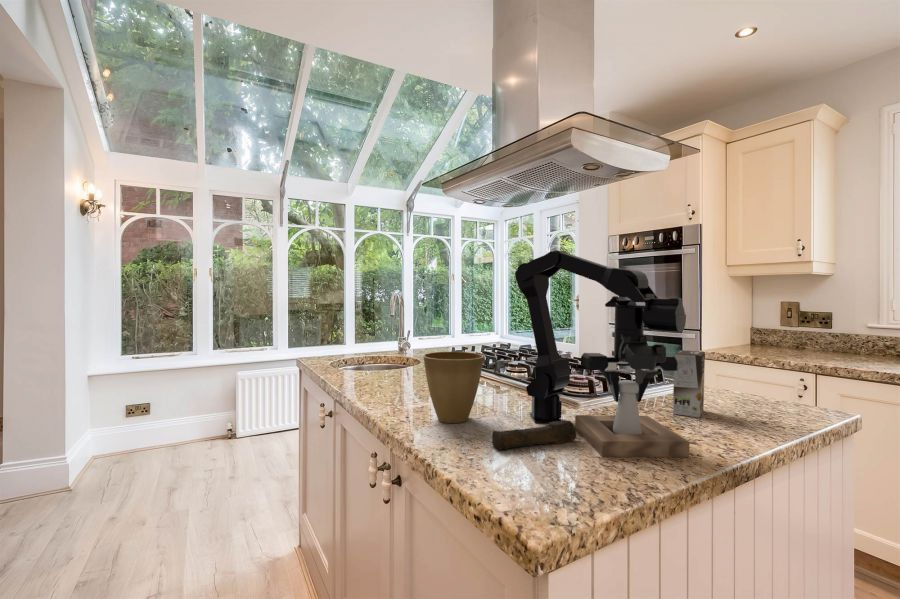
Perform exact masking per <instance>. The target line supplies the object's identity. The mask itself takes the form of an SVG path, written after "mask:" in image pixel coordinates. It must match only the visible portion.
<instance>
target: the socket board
mask: <svg viewBox="0 0 900 599" xmlns="http://www.w3.org/2000/svg"><path fill="white" fill-rule="evenodd" d="M615 415H616V414H614V415H611V414H610V415H605V414H602V415H600V414H599V415H598V414H597V415H595V414H592V415H591V414H589V415H588V414H586V415H585V414H583V415H581V414H575V415H574V416H575V417H574V420H575V422H574V427H575V429H576V430H577V431H578V433H580V435H581V436H582V437H583V439H585V440H586V441H587V443H588V444H590V446H592V448H593V449H594V450H595V451H596V452H597V453H598V454H599V455H600V457H606V458H607V457H608V458H609V457H610V458H611V457H614V458H617V457H618V458H621V457H623V458H625V457H627V458H628V457H629V458H630V457H631V458H690V442H691V441H689V440H688V439H686V438H684V437H682V436H681V435H679V434H678V433H676V432H675V431H673V430H671V429H670V428H668V426H666V425H663V424H662V423H660V422H659V421H657V420H655V419H653V418H652V417H651V416H649V415H639V417H640V423H641V429H642V435H640V434H614V433H613V424H614V420H615Z"/></svg>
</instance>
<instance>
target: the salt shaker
mask: <svg viewBox="0 0 900 599" xmlns="http://www.w3.org/2000/svg"><path fill="white" fill-rule="evenodd" d="M618 385H619V400H618V402H617V408H616V412H615V414H614V415H615V420H614V424H613V433H614V434H640V435H642V429H641V423H640V417H639V416H640V412H639V407H638V402H637V399H636V393H638V392H639V385H638V383H637V382H635V380H629V379H623V380H618Z"/></svg>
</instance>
